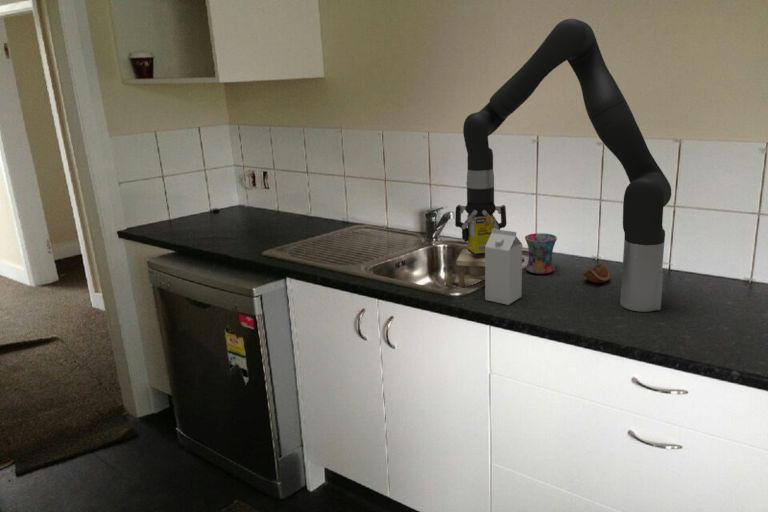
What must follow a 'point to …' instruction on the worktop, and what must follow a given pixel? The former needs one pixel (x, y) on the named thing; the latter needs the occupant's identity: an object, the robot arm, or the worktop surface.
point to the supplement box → (479, 234)
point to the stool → (469, 265)
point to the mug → (540, 252)
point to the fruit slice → (598, 273)
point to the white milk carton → (503, 267)
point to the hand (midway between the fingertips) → (480, 241)
